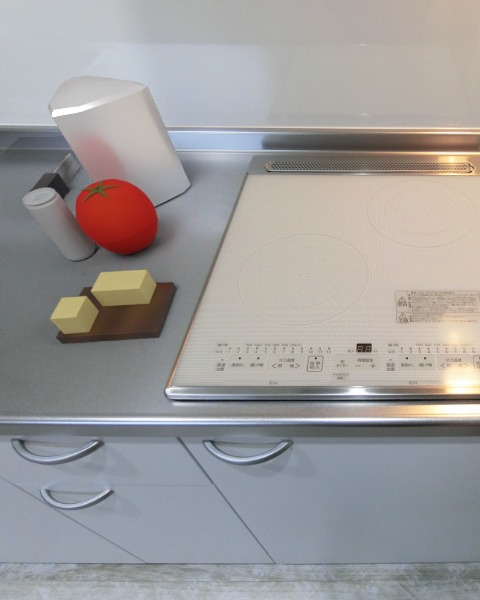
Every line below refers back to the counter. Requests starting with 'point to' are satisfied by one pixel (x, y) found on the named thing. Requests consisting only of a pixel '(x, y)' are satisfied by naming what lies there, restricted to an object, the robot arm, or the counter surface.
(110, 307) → the board
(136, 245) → the tomato
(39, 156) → the counter surface
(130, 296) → the butter block
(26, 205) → the beverage can
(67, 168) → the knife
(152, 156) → the white plastic container
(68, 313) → the butter slice
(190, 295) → the counter surface
